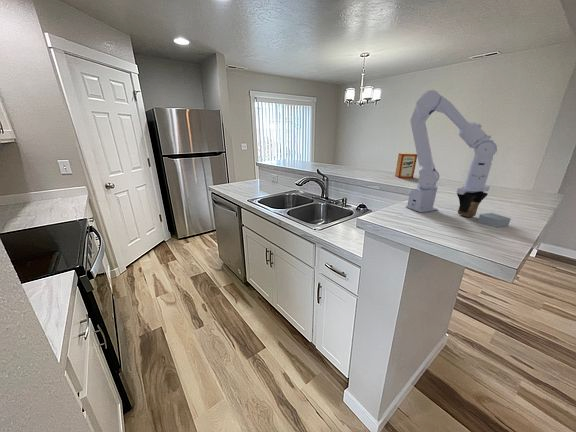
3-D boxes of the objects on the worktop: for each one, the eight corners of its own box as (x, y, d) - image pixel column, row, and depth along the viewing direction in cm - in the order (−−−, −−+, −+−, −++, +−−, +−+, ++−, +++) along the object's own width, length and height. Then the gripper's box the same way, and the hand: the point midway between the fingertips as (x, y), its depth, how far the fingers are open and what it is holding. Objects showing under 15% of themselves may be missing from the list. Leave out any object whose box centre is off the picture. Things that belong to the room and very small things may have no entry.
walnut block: (468, 217, 87) (471, 204, 85) (457, 213, 91) (460, 201, 89) (475, 215, 88) (479, 203, 87) (464, 212, 92) (468, 200, 90)
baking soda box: (409, 176, 164) (413, 152, 158) (412, 178, 158) (417, 153, 152) (395, 176, 165) (398, 152, 159) (398, 177, 159) (402, 153, 153)
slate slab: (495, 228, 79) (498, 220, 78) (477, 222, 84) (479, 214, 83) (508, 226, 81) (510, 218, 80) (489, 220, 86) (492, 212, 85)
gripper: (475, 178, 78) (464, 216, 83) (503, 175, 83) (491, 212, 88) (455, 174, 84) (446, 210, 89) (481, 172, 89) (471, 206, 94)
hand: (467, 210), depth 89 cm, fingers closed on walnut block, 4 cm apart
